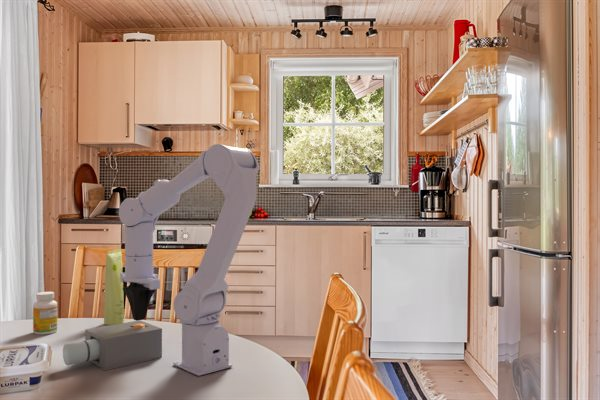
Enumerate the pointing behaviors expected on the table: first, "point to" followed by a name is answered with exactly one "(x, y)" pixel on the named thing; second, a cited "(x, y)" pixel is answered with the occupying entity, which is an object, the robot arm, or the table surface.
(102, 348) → the housing
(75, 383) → the table surface
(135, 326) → the plunger
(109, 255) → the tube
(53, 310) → the supplement bottle
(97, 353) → the cylinder
